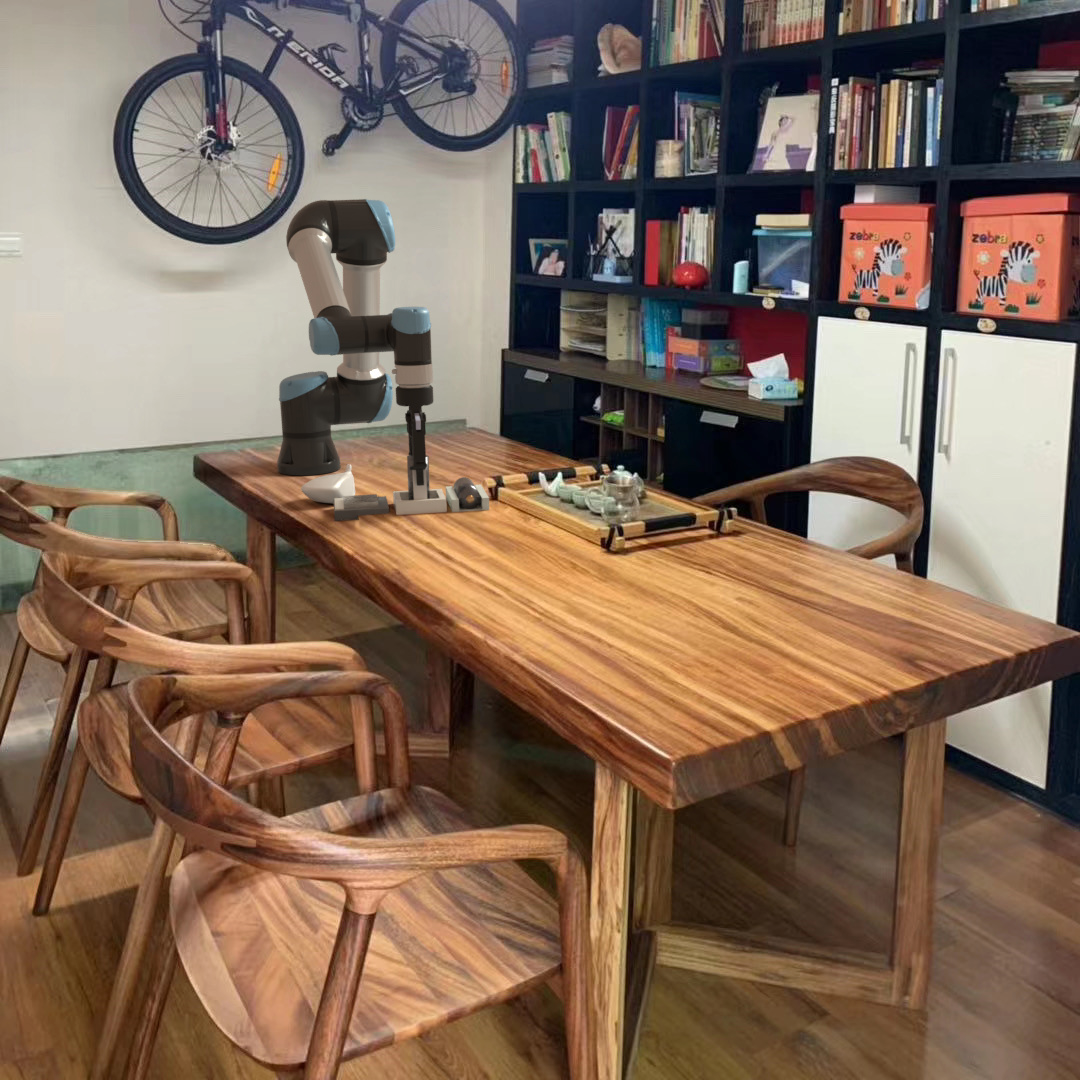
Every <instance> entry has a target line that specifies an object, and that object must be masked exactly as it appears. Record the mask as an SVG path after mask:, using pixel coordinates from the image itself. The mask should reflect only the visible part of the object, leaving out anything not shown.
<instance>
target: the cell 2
mask: <svg viewBox="0 0 1080 1080" xmlns="http://www.w3.org/2000/svg"><path fill="white" fill-rule="evenodd" d="M475 485H476V484H475V483H474V482H473V481H472V480H471V478H469V477H459V478H458V479H456V480H455V482H454V484H453V489H454V491H455V493H456V495H457V497H458V499H459V502H460V504H461V505H462V506H463V507H464V508H466V509H473V508H476V507H477V506H478V505H479V503H480V500H481V497H480V494H479V492H478V490H477V489H476V487H475Z"/></svg>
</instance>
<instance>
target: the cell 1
mask: <svg viewBox="0 0 1080 1080" xmlns="http://www.w3.org/2000/svg"><path fill="white" fill-rule="evenodd" d="M429 456H430V455H427V454H426V464H427V467H426V480H427V499H430V489H431V487H430V462H429V460H430V457H429ZM406 460H407V461H406V462H407V466H406V468H407V491H408V500H414V493H413V471H412V470H410V467H413V455H409V454H408V455H407V456H406Z"/></svg>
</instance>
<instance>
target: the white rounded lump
mask: <svg viewBox="0 0 1080 1080" xmlns="http://www.w3.org/2000/svg"><path fill="white" fill-rule="evenodd" d="M352 468H353V466H352V464H349V463H348V464H346V465H345V470H344V471H343V472H341V473H334V474H327V475H322V476H319V477H315V478H313V479H311V480H309V481H307V482H306V483H304V484H302V486H301V487H300V489H301V492H302V493H303V495H304V496H305V497H307V498H308V499H310V500H312V501H314V502H315V503H322V504H334V498H343V496H355V495H356V488H355V487H356V485H355V478H354V475H353V473H352Z"/></svg>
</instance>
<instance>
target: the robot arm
mask: <svg viewBox="0 0 1080 1080" xmlns="http://www.w3.org/2000/svg"><path fill="white" fill-rule="evenodd" d="M285 237H286V238H285V240H286V247H287V251H288V255H289V256H290V257H291V259H292V260H293V262H295V263H296V264H297V267H298V271H299V274H300V277H301V279H302V283H303V286H304V289H305V293H306V297H307V299H308V303H309V306H310V309H311V312H312V314H313V315H312V316H313V318H311V319H310V320H309V323H308V339H309V347H310V350H311V352H312V353H314V355H316V356H317V355H318V356H320V355H322V356H331V357H332V356H338V355H342V362H341V363H340V364H339V365H338V366H337V367H336V376H329V374H328V373H327V371H325V370H323V371H322V370H318V371H309V372H303V373H297V374H293V375H290V376H287V377H285V378H283V379H282V380H281V381H280V383H279V387H278V388H279V391H278V394H279V395H278V396H279V397H278V401H279V404H280V405H279V406H280V407H279V408H280V418H281V420H280V421H281V434H282V435H281V436H282V442H281V447H280V450H279V453H278V457H277V461H276V462H277V464H276V465H277V472H278V473H279V474H282V475H288V476H314V475H315V476H316V475H324V474H329V473H330V474H331V473H333V472H337V471H339V470H340V469H341V459H340V456H339V453H338V450H337V448H336V445H335V443H334V440H333V437H332V429H331V428H332V427H331V426H338V425H353V424H371V423H374V422H382V421H384V420H385V419H387V417H389V415H390V412H391V410H392V405H393V398H394V397H393V396H394V391H393V380H392V377H391V376H390V374H388V373H386V368H385V367H384V366H383V365H382V364H381V363H380V353H388V352H393V359H394V368H393V369H392V370H391V373H392V374H393V375H395V376H394V379H395V380H394V381H395V384H396V385H398V386H396V387H395V403H396V405H397V406H399V407H408V409H407V410H406V413H405V412H404V413H405V414H404V416H405V417H404V418H405V422H406V432H407V434H408V456H409V455H413V467H410V470H412V471H413V493H414V500H419V499H427V480H426V467H427V464H426V455H427V454H426V453H427V452H426V433H427V430H426V422H427V415H426V412H423V408H422V407H423V406H424V407H425V406H431V405H432V404H434V386H432V385H431V384H432V383H433V382H434V375H433V371H434V370H433V361H432V335H431V330H432V329H431V328H432V323H431V318H430V311H429V309H428V308H427V307H424V306H400V307H396V308H394V309H392V312H391V313H388V314H380V313H381V310H380V307H381V306H380V304H381V303H380V302H381V300H380V299H381V268H382V267H383V266H384V265H385V264H386V263H387V261H388V256H387V255H388V254H389V253H390V254H391V253H392V252H394V251H395V248H396V234H395V227H394V221H393V218H392V215H391V211H390V208H389V207H388V205H387V204H386V203H385V202H384V201H383V200H380V199H377V200H376V199H367V198H363V199H362V198H361V199H360V198H359V199H334V200H332V199H331V200H327V199H322V200H321V199H320V200H315V201H312V202H310V203H307V204H306V205H304V206H303V207H301V208H300V209H299V210H298V211H296V213H295V214H294V216H293V217H292V219H291V220H290V223H289V225H288V227H287V231H286V236H285ZM332 254H335V260H336V261H337V262H338V263H339V264H340V265H341V266H342V283H341V281H340V277H339V275H338V272H337V268H336V265H335V263H334V260H333V257H332Z"/></svg>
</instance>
